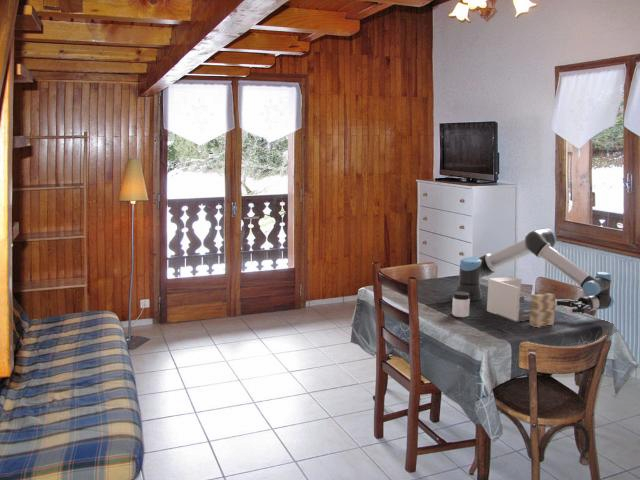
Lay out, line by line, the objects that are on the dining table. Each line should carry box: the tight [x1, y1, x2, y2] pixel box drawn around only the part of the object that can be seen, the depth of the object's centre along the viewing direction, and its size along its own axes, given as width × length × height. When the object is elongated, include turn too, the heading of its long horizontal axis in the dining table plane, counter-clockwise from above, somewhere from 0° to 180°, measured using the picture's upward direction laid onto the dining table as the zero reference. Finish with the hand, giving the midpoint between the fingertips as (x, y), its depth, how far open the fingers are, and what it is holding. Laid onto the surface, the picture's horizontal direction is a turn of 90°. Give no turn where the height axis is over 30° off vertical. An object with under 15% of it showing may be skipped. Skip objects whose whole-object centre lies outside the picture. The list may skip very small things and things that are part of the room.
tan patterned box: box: [529, 292, 557, 328], centre depth 320 cm, size 12×4×16 cm, turn 114°
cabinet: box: [486, 276, 531, 323], centre depth 339 cm, size 16×23×18 cm, turn 24°
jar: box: [451, 291, 471, 318], centre depth 337 cm, size 9×8×12 cm
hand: (556, 307), depth 323 cm, fingers open, 13 cm apart
